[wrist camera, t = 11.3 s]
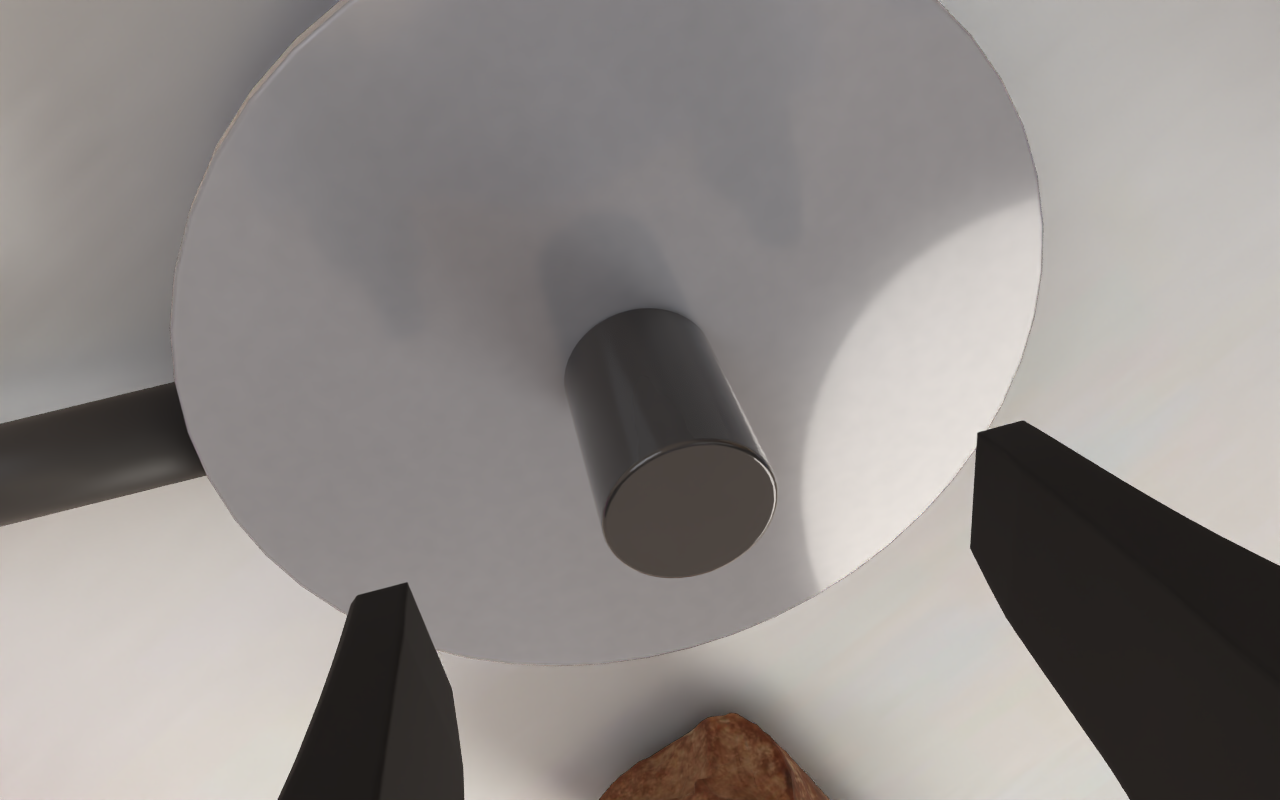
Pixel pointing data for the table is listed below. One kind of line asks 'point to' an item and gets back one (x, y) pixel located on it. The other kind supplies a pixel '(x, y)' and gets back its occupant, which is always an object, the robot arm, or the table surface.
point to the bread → (717, 767)
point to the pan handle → (94, 453)
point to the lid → (603, 307)
